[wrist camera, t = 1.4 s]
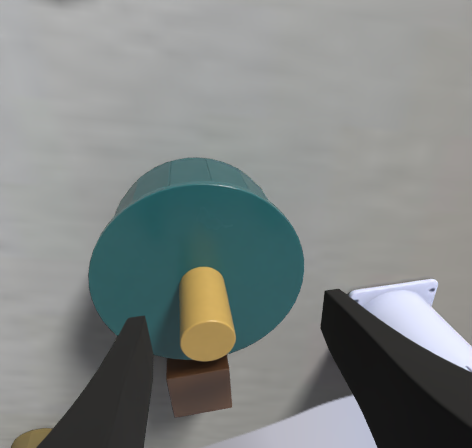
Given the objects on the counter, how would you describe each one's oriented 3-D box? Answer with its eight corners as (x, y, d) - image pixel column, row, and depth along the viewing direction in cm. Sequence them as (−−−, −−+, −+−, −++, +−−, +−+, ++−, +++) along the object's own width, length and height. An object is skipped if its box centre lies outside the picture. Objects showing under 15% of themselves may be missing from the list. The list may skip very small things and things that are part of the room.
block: (224, 360, 29) (232, 407, 25) (174, 369, 28) (174, 418, 24) (221, 323, 27) (229, 368, 23) (167, 332, 26) (166, 379, 22)
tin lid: (294, 331, 22) (324, 402, 17) (118, 358, 20) (101, 444, 16) (302, 165, 16) (350, 207, 12) (66, 188, 15) (18, 244, 11)
